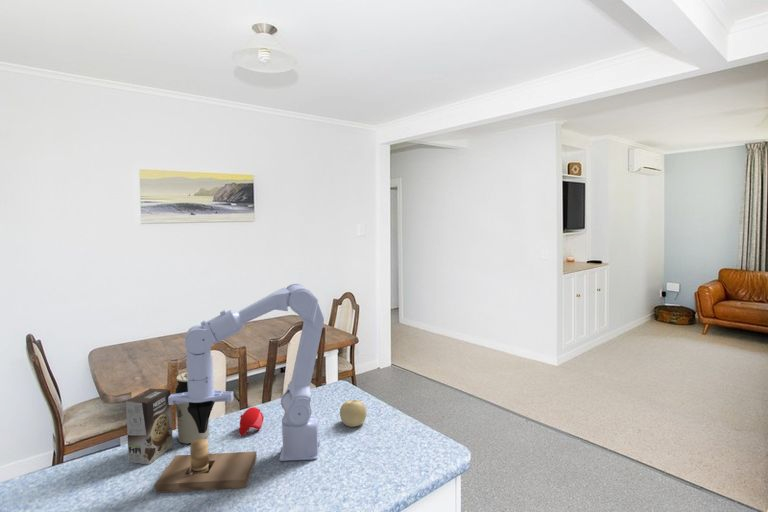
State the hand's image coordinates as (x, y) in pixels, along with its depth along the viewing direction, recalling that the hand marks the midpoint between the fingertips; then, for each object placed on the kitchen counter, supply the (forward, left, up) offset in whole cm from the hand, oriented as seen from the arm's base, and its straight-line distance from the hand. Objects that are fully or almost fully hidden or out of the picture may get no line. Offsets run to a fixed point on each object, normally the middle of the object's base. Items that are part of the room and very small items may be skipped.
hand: (203, 431), depth 105 cm
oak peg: (+1, +1, -10) cm, 10 cm away
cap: (-6, -21, -11) cm, 24 cm away
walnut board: (-1, +1, -10) cm, 10 cm away
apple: (-36, -22, -11) cm, 44 cm away
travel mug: (+9, -18, -11) cm, 22 cm away
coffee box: (+17, -10, -11) cm, 22 cm away
